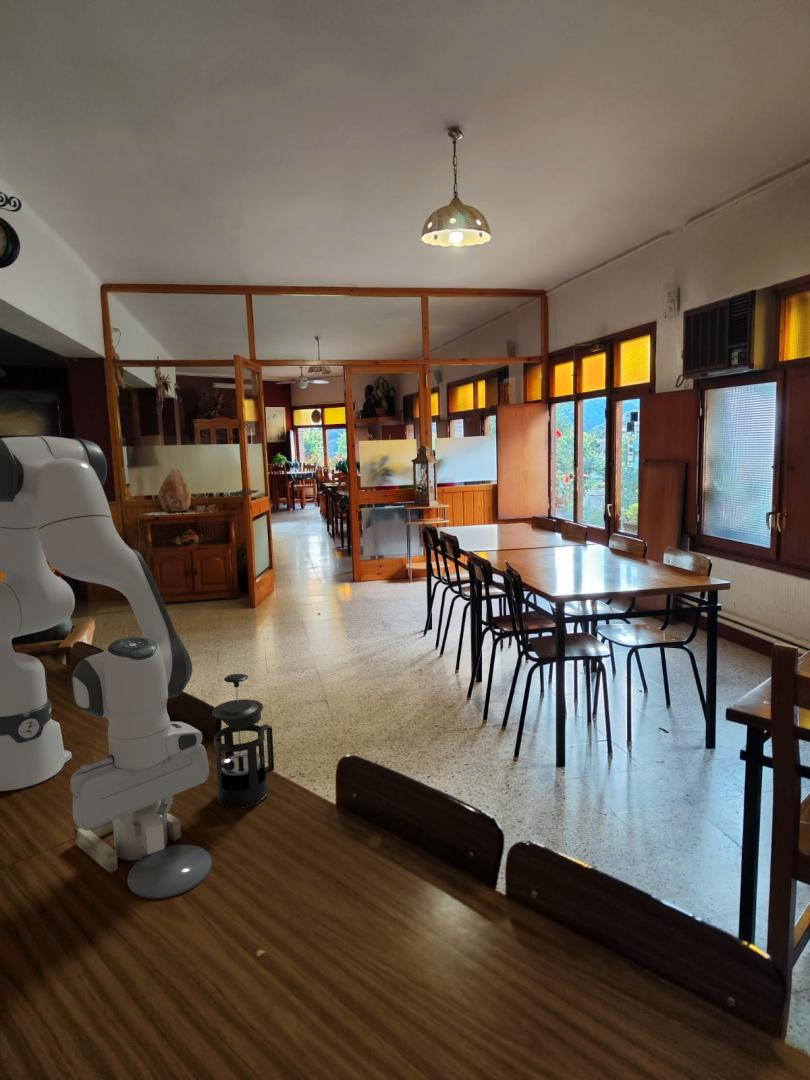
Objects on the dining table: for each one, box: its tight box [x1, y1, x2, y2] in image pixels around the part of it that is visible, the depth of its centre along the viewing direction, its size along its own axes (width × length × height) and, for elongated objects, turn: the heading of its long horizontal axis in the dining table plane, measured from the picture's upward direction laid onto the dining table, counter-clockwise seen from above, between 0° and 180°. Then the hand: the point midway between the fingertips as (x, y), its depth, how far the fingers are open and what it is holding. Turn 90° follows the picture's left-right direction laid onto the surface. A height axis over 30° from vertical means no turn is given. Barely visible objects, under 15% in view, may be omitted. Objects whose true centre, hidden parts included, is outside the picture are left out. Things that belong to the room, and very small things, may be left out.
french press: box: [212, 673, 275, 809], centre depth 121 cm, size 12×9×23 cm
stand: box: [73, 812, 182, 874], centre depth 108 cm, size 12×12×3 cm
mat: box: [127, 844, 213, 900], centre depth 100 cm, size 12×12×1 cm
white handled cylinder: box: [112, 801, 169, 861], centre depth 104 cm, size 14×8×10 cm, turn 35°
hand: (147, 829), depth 102 cm, fingers closed on white handled cylinder, 3 cm apart
